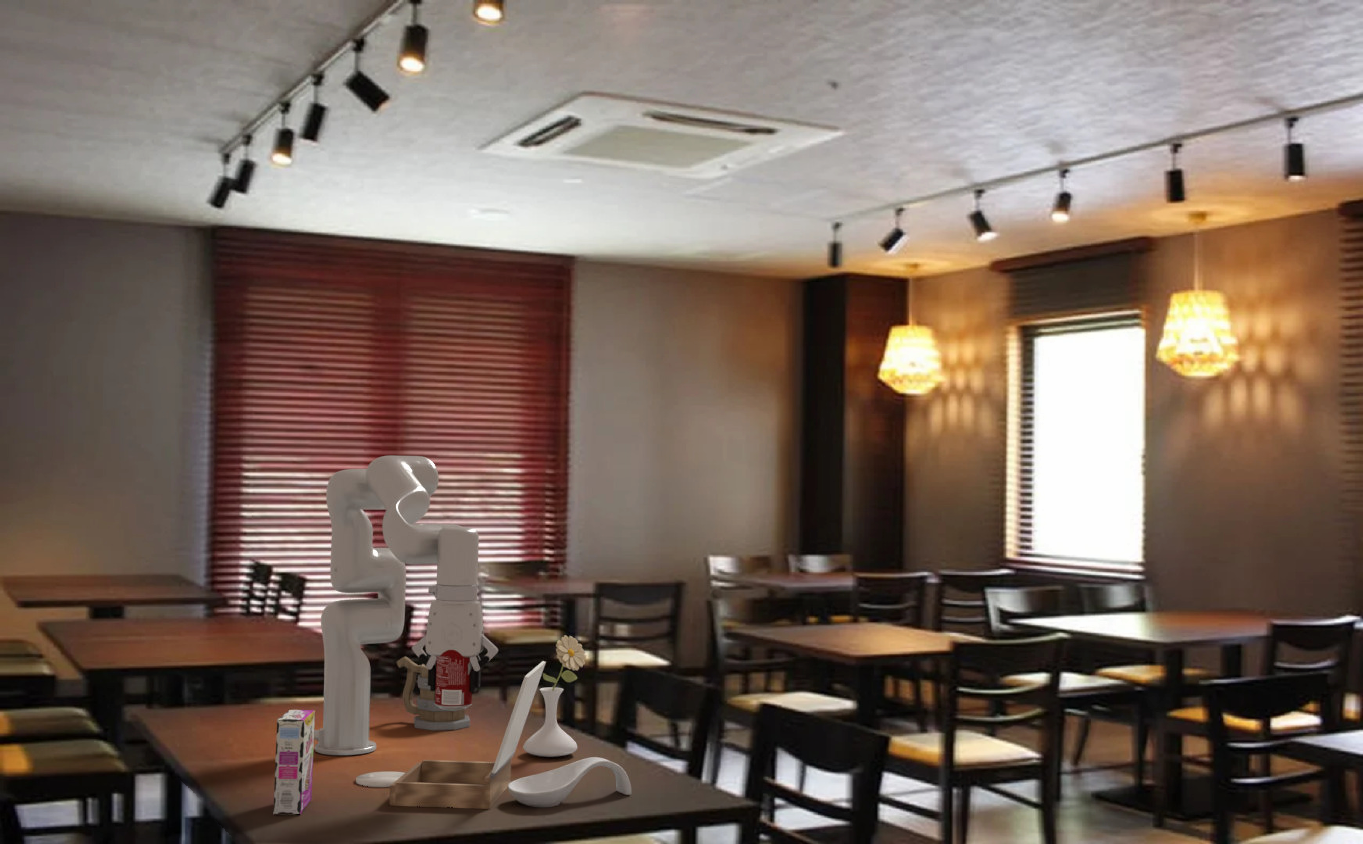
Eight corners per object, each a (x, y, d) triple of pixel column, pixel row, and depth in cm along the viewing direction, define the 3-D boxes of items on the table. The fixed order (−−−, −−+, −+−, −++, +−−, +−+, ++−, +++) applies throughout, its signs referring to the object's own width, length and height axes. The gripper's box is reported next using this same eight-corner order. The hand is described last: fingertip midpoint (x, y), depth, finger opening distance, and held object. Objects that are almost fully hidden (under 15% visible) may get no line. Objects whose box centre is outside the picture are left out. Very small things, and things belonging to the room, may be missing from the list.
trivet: (348, 786, 265) (348, 783, 265) (365, 773, 276) (365, 770, 276) (406, 788, 264) (406, 785, 264) (420, 775, 275) (420, 772, 275)
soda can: (464, 712, 257) (466, 646, 257) (429, 710, 258) (431, 644, 258) (476, 706, 263) (478, 641, 263) (442, 703, 265) (444, 639, 265)
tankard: (480, 724, 330) (481, 660, 330) (443, 732, 319) (445, 666, 320) (417, 715, 341) (418, 653, 341) (379, 722, 330) (381, 658, 330)
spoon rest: (525, 815, 246) (526, 774, 246) (496, 801, 256) (497, 761, 256) (641, 800, 259) (642, 761, 259) (609, 787, 269) (610, 749, 269)
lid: (524, 676, 250) (528, 677, 250) (542, 660, 270) (546, 662, 270) (489, 777, 249) (493, 778, 249) (510, 754, 269) (514, 756, 269)
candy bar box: (302, 816, 242) (304, 720, 243) (272, 816, 242) (275, 719, 242) (313, 800, 253) (316, 708, 254) (285, 800, 253) (287, 708, 253)
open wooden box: (389, 805, 250) (390, 775, 251) (417, 780, 270) (418, 752, 271) (489, 809, 249) (490, 778, 249) (510, 783, 269) (511, 755, 269)
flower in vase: (534, 762, 289) (537, 640, 290) (515, 752, 299) (517, 633, 300) (593, 757, 295) (595, 637, 296) (571, 747, 305) (574, 631, 306)
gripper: (405, 594, 258) (402, 692, 257) (499, 597, 257) (496, 696, 256) (415, 590, 265) (412, 686, 265) (506, 593, 264) (504, 689, 264)
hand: (453, 690), depth 261 cm, fingers closed on soda can, 6 cm apart
